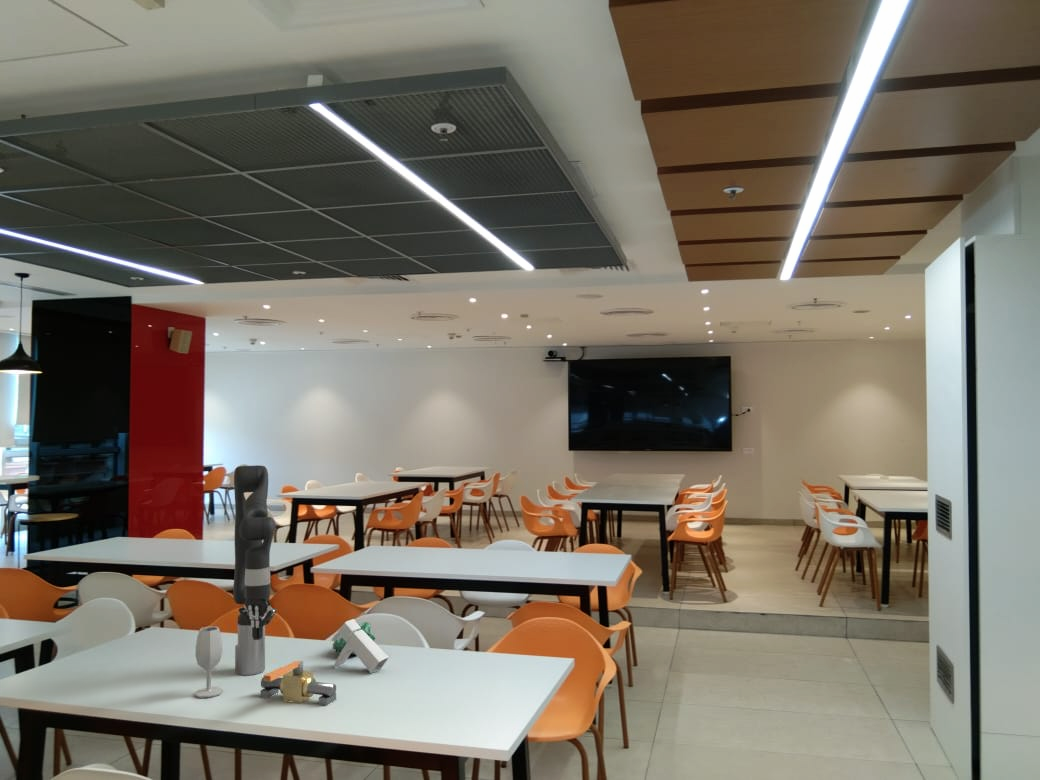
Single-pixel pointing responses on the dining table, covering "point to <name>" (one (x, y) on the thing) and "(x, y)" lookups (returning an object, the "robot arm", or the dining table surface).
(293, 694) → the valve
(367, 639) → the faucet
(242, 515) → the robot arm
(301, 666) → the lever
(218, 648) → the wineglass
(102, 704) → the dining table surface
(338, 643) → the mineral
